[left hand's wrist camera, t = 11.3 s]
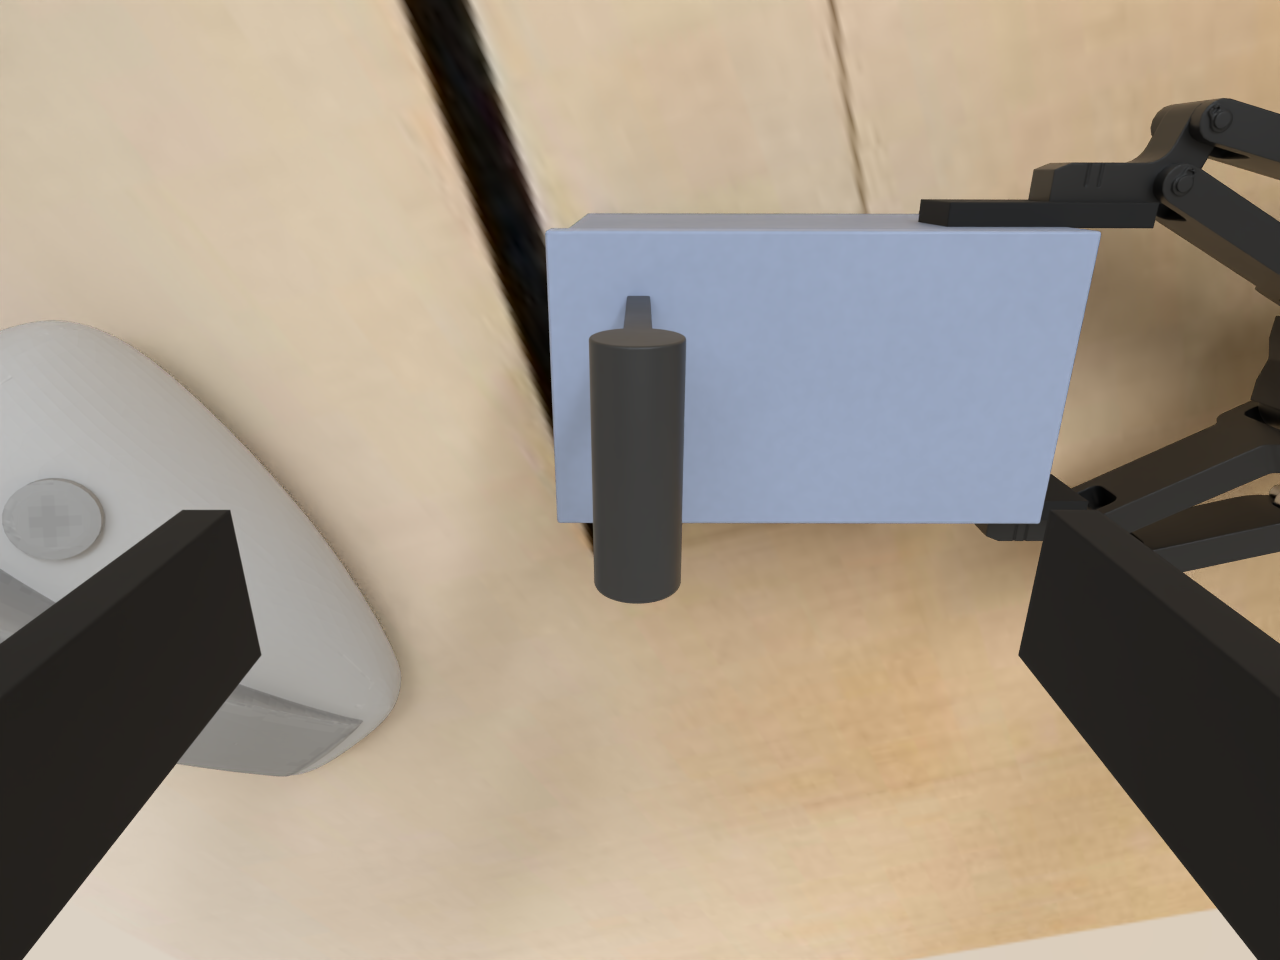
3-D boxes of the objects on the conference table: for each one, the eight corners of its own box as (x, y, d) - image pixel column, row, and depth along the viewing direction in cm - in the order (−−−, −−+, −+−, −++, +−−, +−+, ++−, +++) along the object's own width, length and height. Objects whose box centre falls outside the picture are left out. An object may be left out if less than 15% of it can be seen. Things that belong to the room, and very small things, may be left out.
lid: (560, 511, 27) (523, 666, 18) (548, 228, 23) (496, 258, 15) (1026, 512, 27) (1203, 667, 18) (1083, 229, 23) (1336, 260, 15)
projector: (2, 723, 42) (-309, 991, 28) (-132, 291, 33) (-671, 373, 19) (414, 741, 42) (306, 1013, 28) (386, 319, 33) (213, 419, 20)
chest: (591, 429, 36) (576, 510, 27) (587, 213, 32) (567, 228, 23) (932, 429, 36) (1025, 511, 27) (964, 213, 32) (1083, 228, 23)
